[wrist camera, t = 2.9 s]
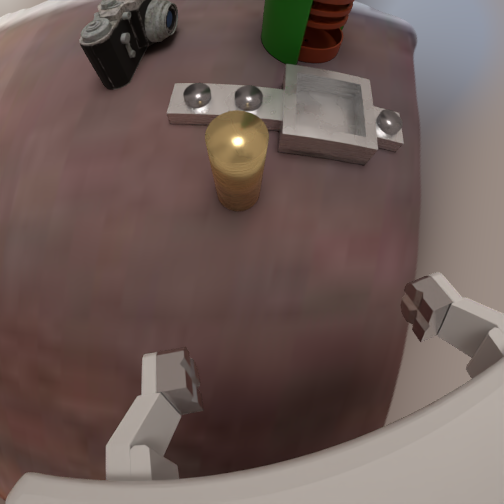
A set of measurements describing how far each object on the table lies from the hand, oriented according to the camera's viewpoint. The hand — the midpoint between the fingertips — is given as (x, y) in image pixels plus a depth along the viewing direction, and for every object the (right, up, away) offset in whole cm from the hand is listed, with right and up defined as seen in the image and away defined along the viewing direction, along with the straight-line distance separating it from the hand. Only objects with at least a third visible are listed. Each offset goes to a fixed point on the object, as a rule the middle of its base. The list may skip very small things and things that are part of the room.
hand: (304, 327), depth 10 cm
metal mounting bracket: (+2, +15, +16) cm, 22 cm away
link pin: (-3, +8, +15) cm, 17 cm away
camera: (-14, +27, +17) cm, 35 cm away
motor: (+4, +27, +18) cm, 32 cm away
